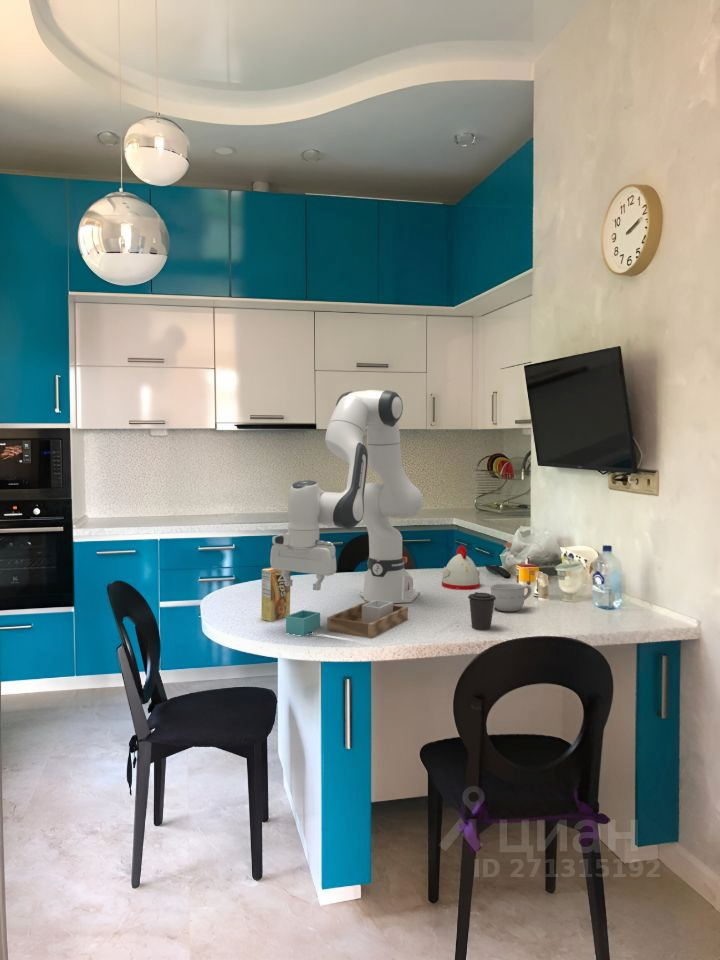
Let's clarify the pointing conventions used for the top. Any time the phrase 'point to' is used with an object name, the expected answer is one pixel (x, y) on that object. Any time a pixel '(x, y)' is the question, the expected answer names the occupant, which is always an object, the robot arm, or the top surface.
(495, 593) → the teacup
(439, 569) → the top surface
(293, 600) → the top surface
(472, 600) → the coffee cup
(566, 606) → the top surface
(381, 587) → the robot arm
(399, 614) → the walnut crate
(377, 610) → the grey crate
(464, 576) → the kitchen timer
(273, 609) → the candy box
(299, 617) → the teal crate
